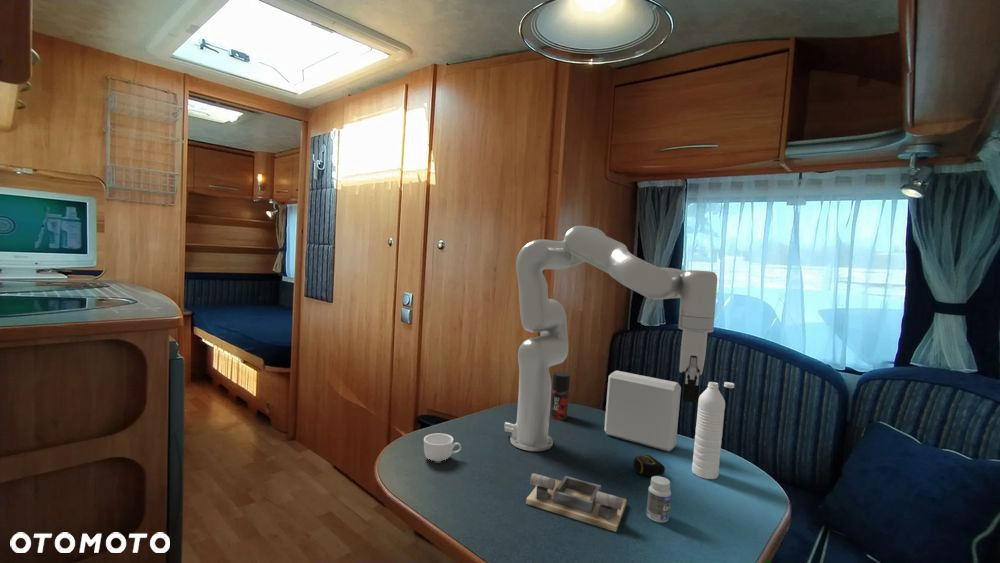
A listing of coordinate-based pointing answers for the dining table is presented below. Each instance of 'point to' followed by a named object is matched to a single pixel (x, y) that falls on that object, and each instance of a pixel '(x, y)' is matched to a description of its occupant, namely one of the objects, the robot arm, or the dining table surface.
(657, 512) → the pill bottle
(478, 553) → the dining table surface
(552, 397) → the deodorant
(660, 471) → the tape measure
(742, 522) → the dining table surface
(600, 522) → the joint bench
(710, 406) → the water bottle
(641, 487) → the dining table surface
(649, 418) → the bevelled white case
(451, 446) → the teacup
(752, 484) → the dining table surface
